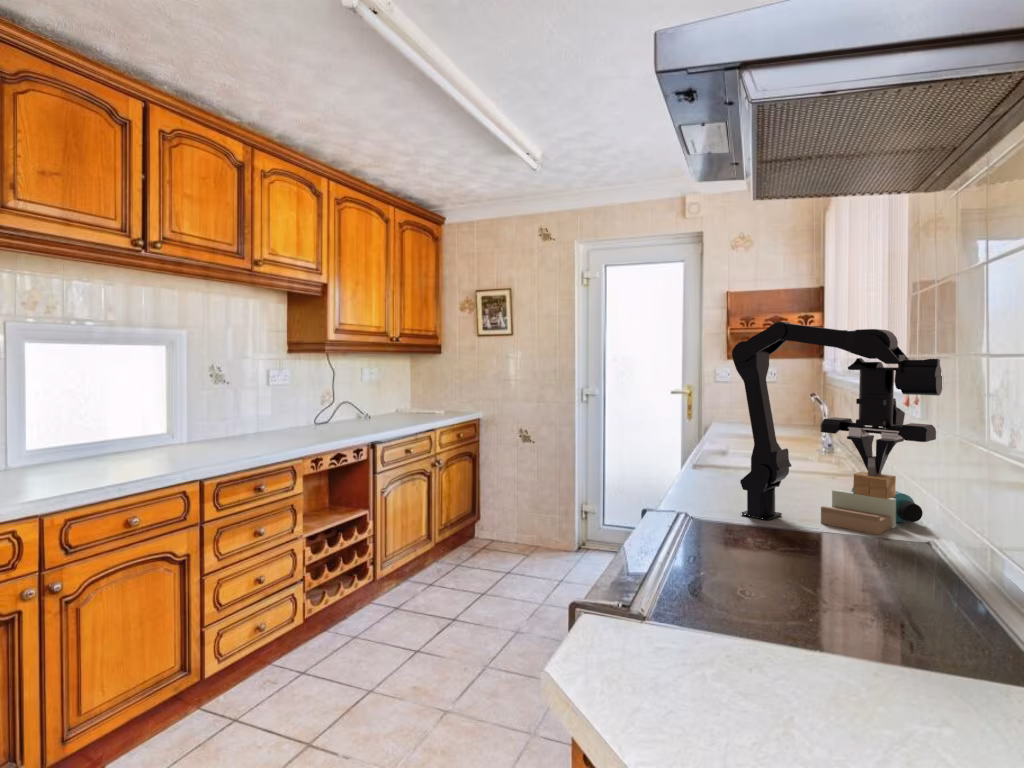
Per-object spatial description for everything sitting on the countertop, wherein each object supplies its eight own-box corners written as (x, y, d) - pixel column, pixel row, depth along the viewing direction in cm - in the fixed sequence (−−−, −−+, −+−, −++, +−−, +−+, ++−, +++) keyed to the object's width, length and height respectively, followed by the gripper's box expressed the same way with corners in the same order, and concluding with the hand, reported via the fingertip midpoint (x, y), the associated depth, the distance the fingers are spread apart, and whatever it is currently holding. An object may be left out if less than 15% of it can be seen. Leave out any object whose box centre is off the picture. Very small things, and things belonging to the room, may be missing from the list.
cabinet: (886, 499, 112) (887, 460, 112) (852, 493, 117) (853, 456, 116) (895, 496, 114) (896, 458, 114) (861, 490, 119) (862, 454, 119)
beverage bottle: (880, 490, 140) (937, 511, 120) (860, 511, 140) (915, 535, 120) (859, 472, 140) (913, 490, 120) (840, 493, 140) (891, 514, 120)
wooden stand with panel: (880, 535, 116) (880, 505, 116) (818, 522, 126) (818, 494, 126) (895, 527, 121) (896, 498, 121) (835, 516, 131) (835, 489, 131)
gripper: (947, 393, 112) (945, 474, 113) (844, 389, 127) (843, 461, 128) (925, 396, 105) (923, 482, 106) (819, 392, 120) (818, 467, 121)
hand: (874, 472), depth 115 cm, fingers closed on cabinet
